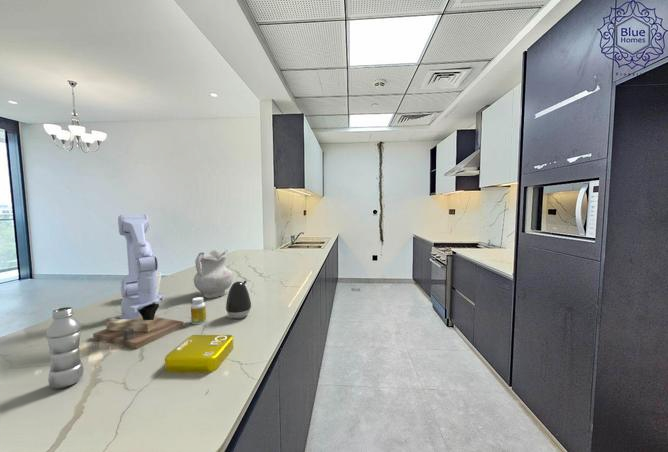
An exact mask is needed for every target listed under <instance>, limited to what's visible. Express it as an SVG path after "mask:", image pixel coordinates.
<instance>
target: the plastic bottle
mask: <svg viewBox="0 0 668 452" xmlns="http://www.w3.org/2000/svg"><path fill="white" fill-rule="evenodd" d="M73 315H74V310H73V307H72V306H64V307H60V308H55V309H54V310H52V320H53V321H52V322H51V323H50V324H49V325H48V328H47V330H46V331H45V336H46V340H47V344H48V347H49V355H50V363H49V365H50V366H49V372H48V377H47V380H48V381H47V382H48V384H49V386H50V387H51V388H53V389H62V388H67V387H69V386H72V385H75V384H76V383H78V382H79V381H80V380H81V379H82V377H83V375H84V370H85V368H84V365H83V362H82V359H81V358H82V357H81V352H80V339H81V332H82V324H81V322H80V321H79V320H78V319H77V318H75V317H74V316H73Z"/></svg>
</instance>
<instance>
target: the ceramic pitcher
mask: <svg viewBox="0 0 668 452" xmlns="http://www.w3.org/2000/svg"><path fill="white" fill-rule="evenodd" d="M228 250H229V249H224V251H221V250H217V249H213V250H211V251H210V252H209V253H208V254H205V252H202V251H201V252H199V253H198V254H197V256H196V258H195V261H194V262H195V269H196V274H194V278H193V284H194V286H195V288H196V289H197V291H199V292H201V293H203V294H202V297H203V298H204V297H205V299H207V298H208V299H214V298H219V296H220V297H223V296H224V295H226V294H227V293H226V292H225V291H227V290H228V289H230V288H231V286H232V284H233V280H234V274H233V272H232V271H231V270H230V269H229V268H227V267H226V264H225V263H226V262H225V261H226V259H227V256H228V253H229V252H228Z"/></svg>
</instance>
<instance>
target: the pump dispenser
mask: <svg viewBox="0 0 668 452" xmlns="http://www.w3.org/2000/svg"><path fill="white" fill-rule="evenodd" d="M246 284H247V280H243V282H242V281H234V282H232V283H231V285H230V287H229V290H228V292H227V296H226V297H227V298H226V302H225V303H226V304H225V311H226V313H227V315H228V316H229V317H230V318H231V319H235V320H237V319H238V320H239V319H243V318H245V317H246V316H247V315H248V314H249V313H250V311H251V308H252V301H251V297H250V293H249V290H248V288H247V286H246Z"/></svg>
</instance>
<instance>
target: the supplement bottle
mask: <svg viewBox="0 0 668 452" xmlns="http://www.w3.org/2000/svg"><path fill="white" fill-rule="evenodd" d="M206 311H207V310H206V303H205V302H204V297H203V296H198V297H194V298H192V304H191V306H190V320H191V324H193V325H200V324H204V323H205V322H206V321H207V312H206Z"/></svg>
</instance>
